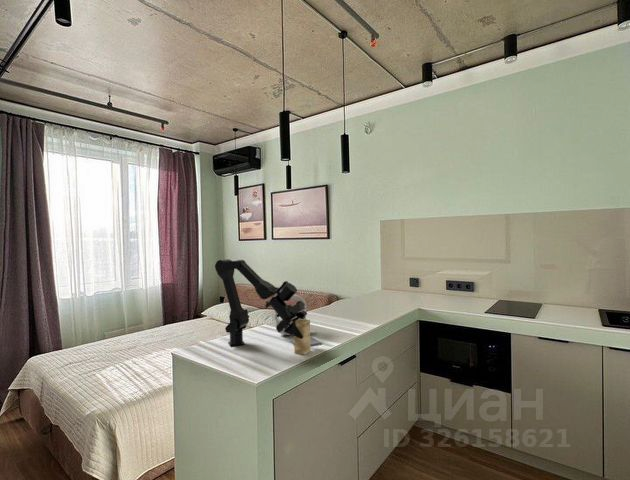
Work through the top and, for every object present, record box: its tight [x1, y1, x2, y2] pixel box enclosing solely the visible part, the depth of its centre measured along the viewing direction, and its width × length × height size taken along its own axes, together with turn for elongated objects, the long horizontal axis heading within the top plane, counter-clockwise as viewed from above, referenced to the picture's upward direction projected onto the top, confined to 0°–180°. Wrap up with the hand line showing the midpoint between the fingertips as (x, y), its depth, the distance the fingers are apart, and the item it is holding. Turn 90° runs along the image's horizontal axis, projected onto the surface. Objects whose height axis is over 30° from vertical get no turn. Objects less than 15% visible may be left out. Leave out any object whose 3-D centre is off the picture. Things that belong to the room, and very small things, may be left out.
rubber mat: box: [289, 335, 322, 347], centre depth 148 cm, size 11×11×1 cm
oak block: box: [293, 318, 311, 355], centre depth 136 cm, size 5×5×13 cm
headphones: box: [273, 293, 308, 336], centre depth 163 cm, size 18×10×20 cm, turn 126°
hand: (305, 336), depth 135 cm, fingers closed on oak block, 5 cm apart
